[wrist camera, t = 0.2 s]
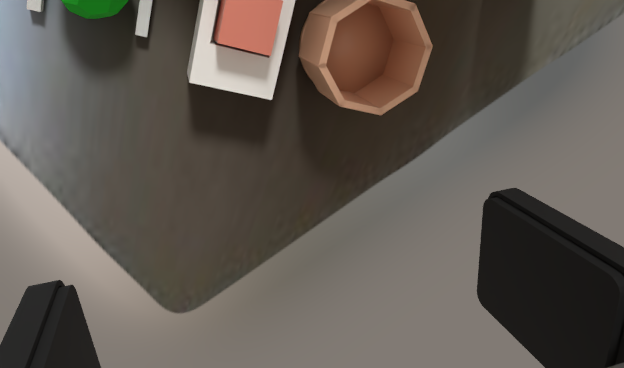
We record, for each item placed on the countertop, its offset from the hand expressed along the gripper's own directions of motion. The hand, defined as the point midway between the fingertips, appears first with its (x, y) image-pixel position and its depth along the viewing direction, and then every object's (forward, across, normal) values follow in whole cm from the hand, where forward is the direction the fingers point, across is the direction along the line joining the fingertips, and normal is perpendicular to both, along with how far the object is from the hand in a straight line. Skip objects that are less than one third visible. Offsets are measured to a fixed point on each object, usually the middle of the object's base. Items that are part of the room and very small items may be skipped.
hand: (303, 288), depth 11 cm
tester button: (+27, -3, -4) cm, 28 cm away
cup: (+30, -12, -1) cm, 32 cm away
